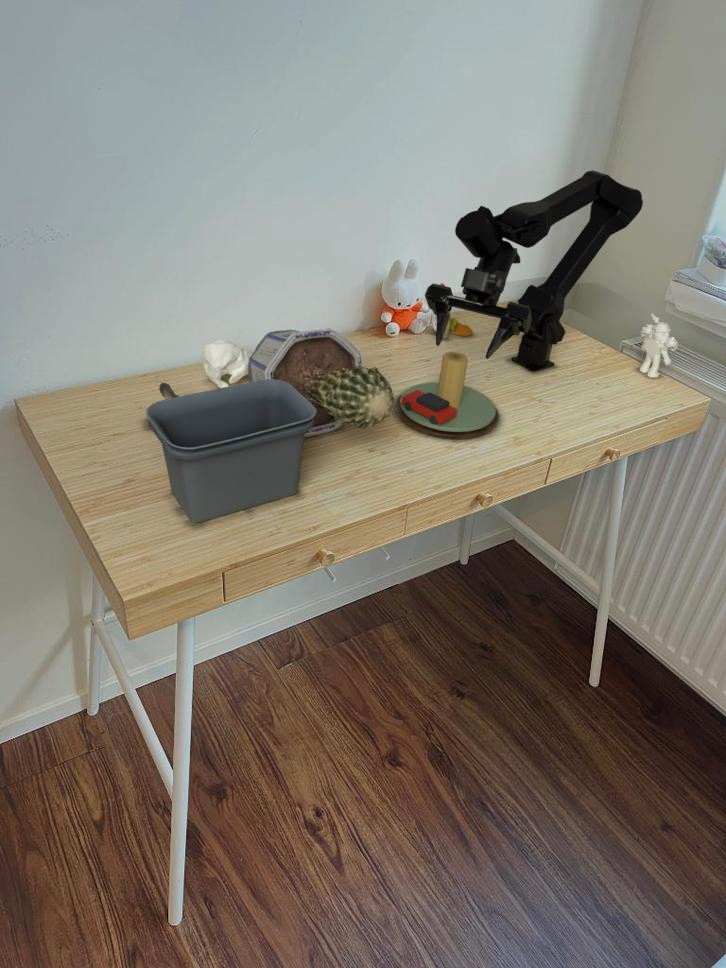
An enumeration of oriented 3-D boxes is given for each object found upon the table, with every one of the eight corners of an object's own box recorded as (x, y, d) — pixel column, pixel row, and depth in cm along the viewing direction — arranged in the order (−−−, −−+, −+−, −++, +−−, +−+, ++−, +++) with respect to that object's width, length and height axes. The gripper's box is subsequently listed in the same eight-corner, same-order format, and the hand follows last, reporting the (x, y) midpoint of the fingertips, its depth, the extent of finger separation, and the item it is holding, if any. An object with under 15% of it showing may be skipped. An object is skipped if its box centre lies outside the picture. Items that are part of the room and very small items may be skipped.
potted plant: (226, 325, 126) (326, 354, 103) (318, 313, 136) (428, 337, 113) (235, 428, 133) (331, 476, 110) (322, 409, 142) (427, 450, 119)
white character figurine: (627, 364, 161) (643, 310, 154) (641, 362, 163) (658, 308, 156) (656, 384, 154) (674, 328, 148) (671, 381, 156) (690, 326, 149)
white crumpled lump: (198, 336, 135) (257, 330, 142) (196, 380, 140) (254, 372, 147) (214, 350, 131) (275, 343, 138) (212, 395, 136) (271, 386, 143)
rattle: (469, 346, 163) (477, 294, 156) (430, 340, 164) (438, 288, 157) (472, 333, 169) (481, 282, 162) (435, 327, 170) (442, 276, 163)
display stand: (450, 380, 148) (450, 377, 148) (519, 423, 137) (520, 419, 136) (374, 403, 139) (375, 399, 138) (442, 450, 127) (443, 446, 127)
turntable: (441, 377, 147) (448, 328, 141) (514, 411, 138) (524, 361, 132) (380, 403, 137) (385, 351, 131) (454, 442, 127) (463, 389, 122)
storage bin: (181, 542, 103) (174, 451, 94) (142, 482, 113) (133, 396, 105) (320, 501, 113) (325, 416, 105) (273, 450, 123) (274, 369, 115)
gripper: (435, 237, 132) (403, 318, 130) (541, 260, 126) (509, 345, 124) (445, 270, 143) (415, 345, 140) (543, 292, 137) (514, 371, 135)
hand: (461, 351), depth 135 cm, fingers open, 9 cm apart
